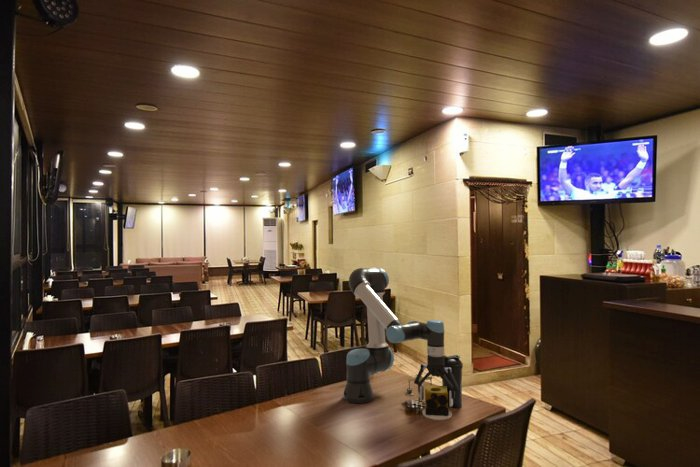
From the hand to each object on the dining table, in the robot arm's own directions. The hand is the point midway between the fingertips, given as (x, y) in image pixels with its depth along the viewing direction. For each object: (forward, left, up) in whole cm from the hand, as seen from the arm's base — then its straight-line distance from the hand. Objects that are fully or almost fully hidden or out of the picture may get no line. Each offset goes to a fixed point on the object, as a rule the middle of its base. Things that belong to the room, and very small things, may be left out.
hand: (436, 402), depth 186 cm
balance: (-11, +8, -5) cm, 14 cm away
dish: (0, 0, -5) cm, 5 cm away
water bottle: (+3, +14, -5) cm, 15 cm away
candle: (0, 0, -4) cm, 4 cm away
